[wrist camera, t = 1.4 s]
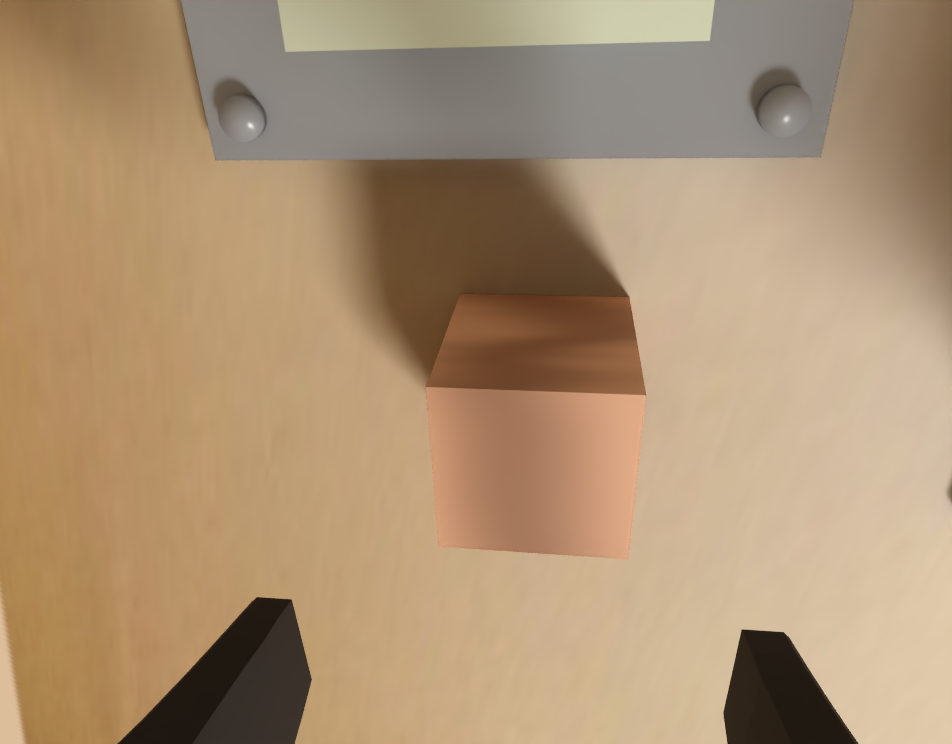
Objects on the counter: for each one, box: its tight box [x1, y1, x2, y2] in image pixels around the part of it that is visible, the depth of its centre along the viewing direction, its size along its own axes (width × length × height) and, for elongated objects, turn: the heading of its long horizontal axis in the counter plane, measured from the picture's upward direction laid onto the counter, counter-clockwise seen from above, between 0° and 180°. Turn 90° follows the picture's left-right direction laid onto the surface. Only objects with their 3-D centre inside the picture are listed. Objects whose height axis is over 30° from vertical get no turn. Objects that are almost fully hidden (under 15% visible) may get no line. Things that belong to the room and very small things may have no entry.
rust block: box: [426, 293, 646, 559], centre depth 17 cm, size 4×4×5 cm
